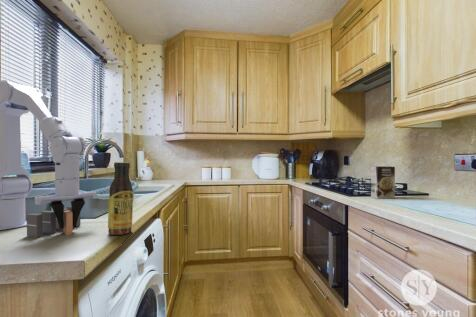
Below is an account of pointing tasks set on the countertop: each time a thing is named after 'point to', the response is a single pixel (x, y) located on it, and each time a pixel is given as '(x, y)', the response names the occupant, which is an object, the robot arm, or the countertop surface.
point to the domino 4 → (68, 222)
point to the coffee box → (383, 182)
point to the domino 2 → (48, 222)
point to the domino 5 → (78, 217)
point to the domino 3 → (57, 221)
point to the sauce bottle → (120, 201)
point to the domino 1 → (34, 225)
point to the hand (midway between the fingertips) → (67, 226)
